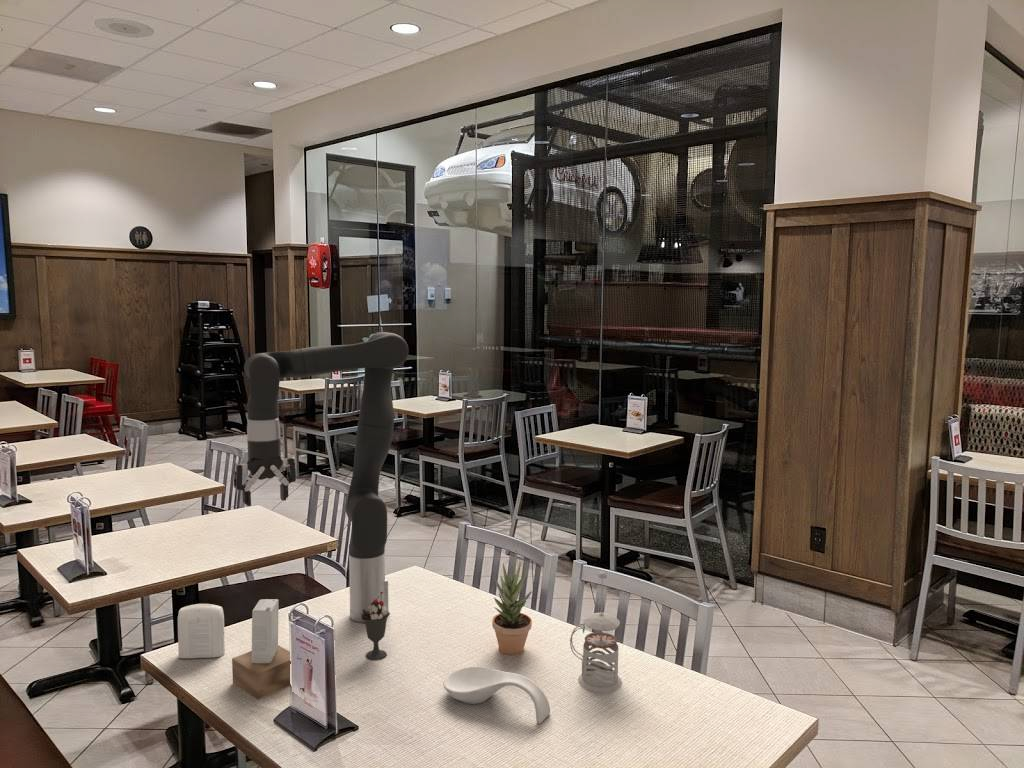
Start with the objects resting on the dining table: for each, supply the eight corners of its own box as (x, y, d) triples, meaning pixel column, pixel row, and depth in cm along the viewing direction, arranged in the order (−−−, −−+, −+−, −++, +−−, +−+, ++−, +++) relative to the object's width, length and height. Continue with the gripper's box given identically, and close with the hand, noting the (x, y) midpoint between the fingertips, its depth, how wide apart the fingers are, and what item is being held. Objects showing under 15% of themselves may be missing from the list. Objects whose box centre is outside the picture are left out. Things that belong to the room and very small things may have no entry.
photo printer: (227, 649, 175) (225, 599, 174) (222, 658, 171) (220, 607, 170) (182, 652, 174) (179, 602, 173) (176, 660, 170) (173, 609, 168)
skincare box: (258, 650, 163) (258, 598, 162) (279, 650, 163) (279, 598, 162) (250, 664, 157) (250, 610, 155) (272, 664, 157) (271, 610, 156)
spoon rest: (432, 701, 154) (432, 669, 153) (463, 676, 164) (463, 646, 163) (532, 734, 143) (533, 700, 142) (559, 705, 153) (559, 673, 152)
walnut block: (274, 667, 168) (273, 642, 167) (299, 682, 161) (298, 656, 161) (232, 684, 160) (232, 658, 160) (257, 701, 154) (256, 673, 153)
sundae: (393, 649, 176) (393, 589, 175) (386, 662, 170) (385, 600, 168) (366, 647, 177) (365, 587, 175) (358, 661, 170) (357, 599, 169)
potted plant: (531, 658, 172) (532, 557, 169) (491, 657, 172) (491, 556, 170) (531, 639, 182) (532, 542, 179) (493, 638, 182) (493, 542, 179)
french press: (621, 695, 157) (624, 582, 154) (566, 689, 159) (569, 577, 156) (623, 672, 166) (626, 565, 163) (572, 666, 168) (574, 561, 166)
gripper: (287, 431, 184) (289, 495, 185) (228, 437, 175) (231, 504, 177) (298, 436, 178) (300, 501, 180) (238, 442, 169) (240, 511, 171)
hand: (265, 502), depth 178 cm, fingers open, 8 cm apart
